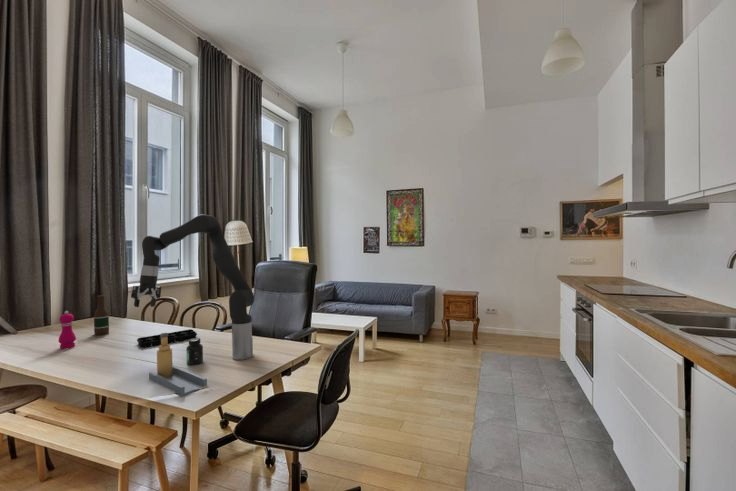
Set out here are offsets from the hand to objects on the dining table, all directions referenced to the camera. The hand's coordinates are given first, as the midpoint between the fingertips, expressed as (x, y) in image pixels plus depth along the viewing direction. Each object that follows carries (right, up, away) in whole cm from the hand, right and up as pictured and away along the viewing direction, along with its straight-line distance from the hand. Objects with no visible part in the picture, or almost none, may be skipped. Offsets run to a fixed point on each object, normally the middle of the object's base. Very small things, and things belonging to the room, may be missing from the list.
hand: (144, 306), depth 180 cm
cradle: (+37, -25, -37) cm, 58 cm away
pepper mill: (-51, -25, +14) cm, 58 cm away
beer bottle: (-52, -24, +40) cm, 70 cm away
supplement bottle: (+33, -25, -16) cm, 44 cm away
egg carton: (-1, -24, +23) cm, 34 cm away
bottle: (+29, -24, -32) cm, 49 cm away
